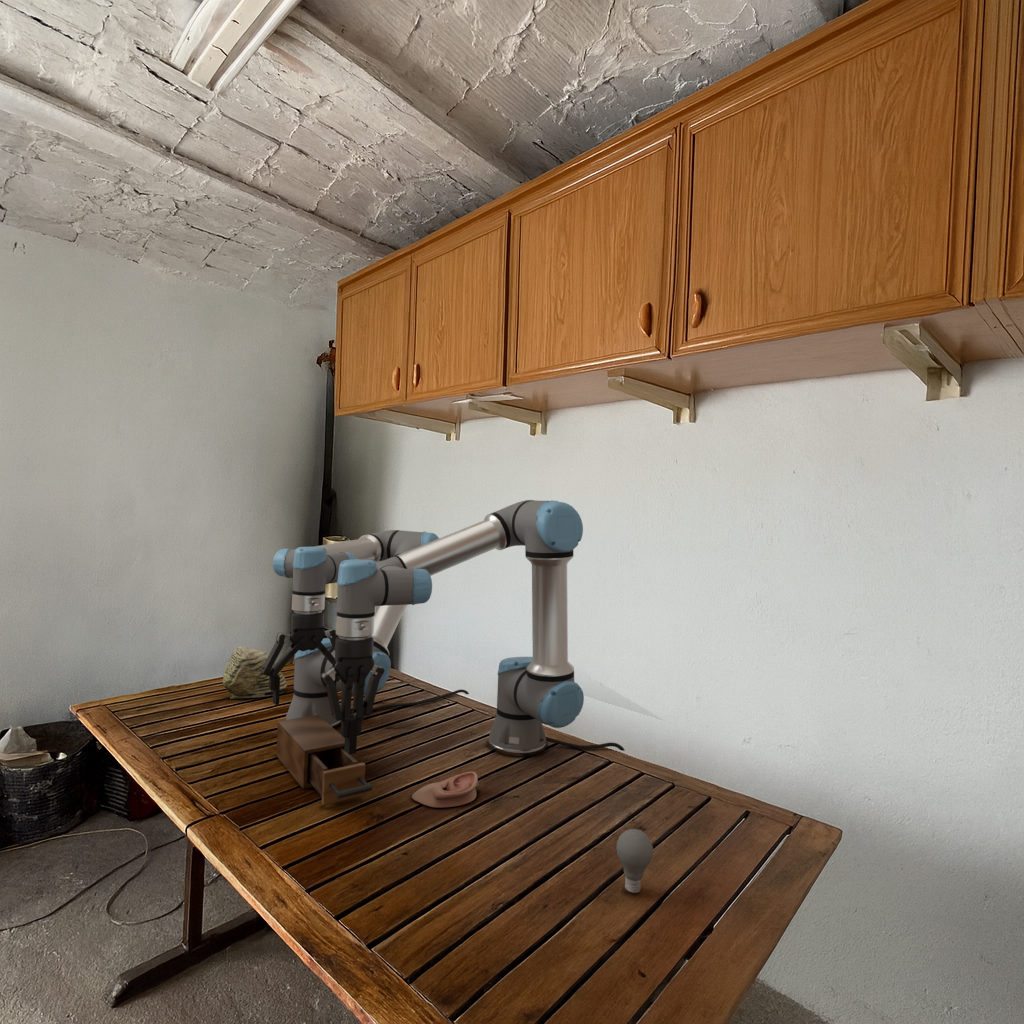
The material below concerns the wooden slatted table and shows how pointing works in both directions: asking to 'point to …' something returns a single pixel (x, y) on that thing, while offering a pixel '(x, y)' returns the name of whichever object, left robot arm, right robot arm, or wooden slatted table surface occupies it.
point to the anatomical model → (449, 791)
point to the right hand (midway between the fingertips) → (350, 751)
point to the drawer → (336, 775)
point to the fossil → (248, 674)
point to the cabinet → (304, 743)
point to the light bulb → (634, 857)
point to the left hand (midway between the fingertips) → (304, 699)
